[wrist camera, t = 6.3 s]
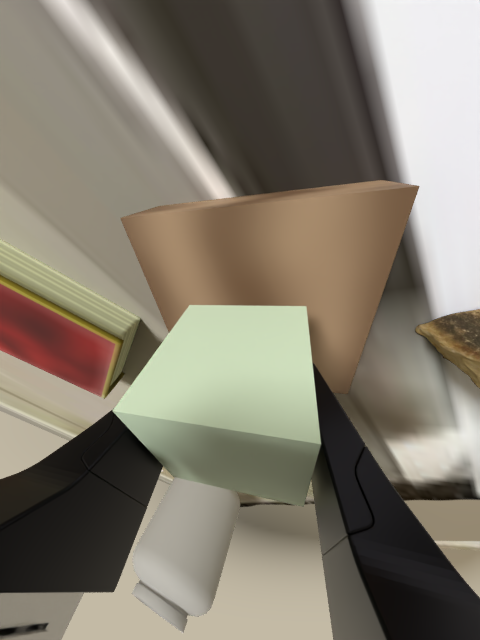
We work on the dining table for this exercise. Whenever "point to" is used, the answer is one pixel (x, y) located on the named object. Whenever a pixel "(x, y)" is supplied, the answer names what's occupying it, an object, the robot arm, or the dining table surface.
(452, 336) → the brown tan chunky block
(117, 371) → the hardcover book
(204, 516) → the jar
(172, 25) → the dining table surface
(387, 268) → the walnut block
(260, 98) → the dining table surface
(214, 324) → the green cube
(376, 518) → the robot arm
